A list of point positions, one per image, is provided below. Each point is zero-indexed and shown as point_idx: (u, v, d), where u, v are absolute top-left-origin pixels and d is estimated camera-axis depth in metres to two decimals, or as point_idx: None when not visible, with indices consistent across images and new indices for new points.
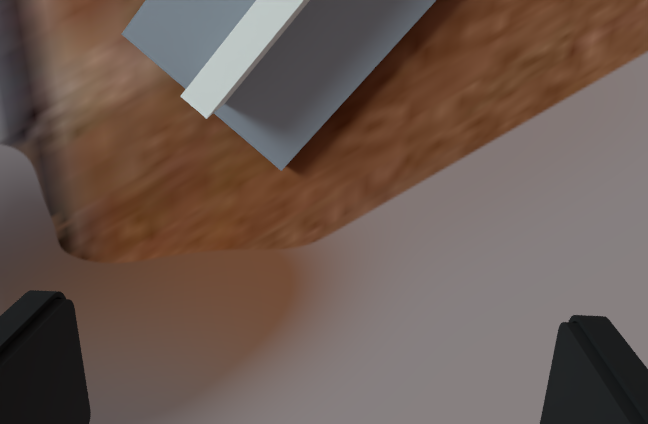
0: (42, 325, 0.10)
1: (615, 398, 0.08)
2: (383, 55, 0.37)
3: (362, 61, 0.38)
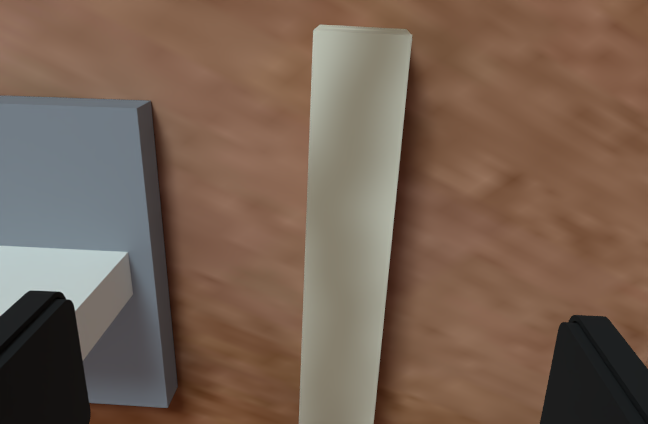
0: (42, 325, 0.10)
1: (615, 398, 0.08)
2: None
3: None
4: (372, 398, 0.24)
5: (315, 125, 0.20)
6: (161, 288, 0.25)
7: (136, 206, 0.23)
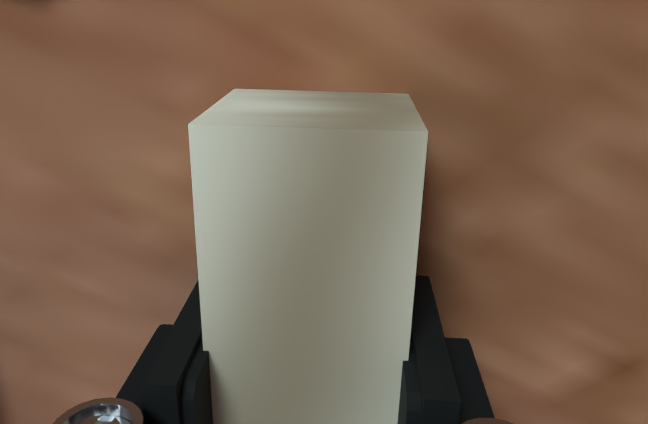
0: None
1: None
2: None
3: None
4: None
5: (214, 327, 0.09)
6: None
7: None
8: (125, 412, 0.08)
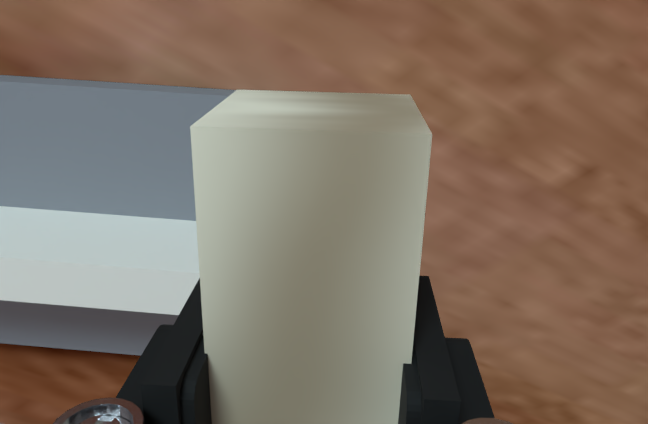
0: None
1: None
2: (129, 352, 0.30)
3: (105, 338, 0.30)
4: None
5: (215, 330, 0.09)
6: None
7: None
8: (125, 412, 0.08)
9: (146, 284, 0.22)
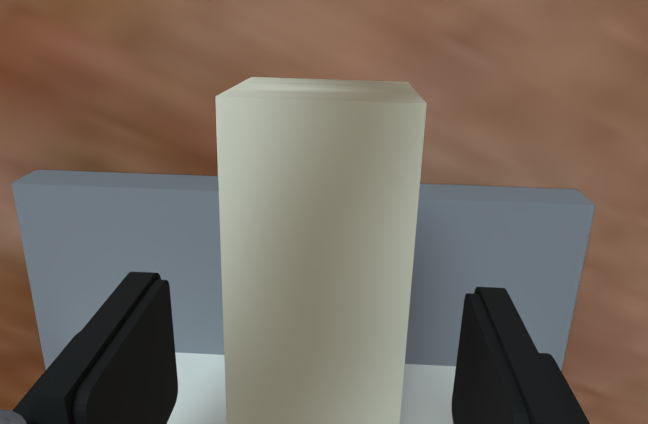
0: (149, 302, 0.10)
1: (492, 355, 0.09)
2: None
3: None
4: None
5: (232, 284, 0.10)
6: None
7: (558, 318, 0.18)
8: None
9: None
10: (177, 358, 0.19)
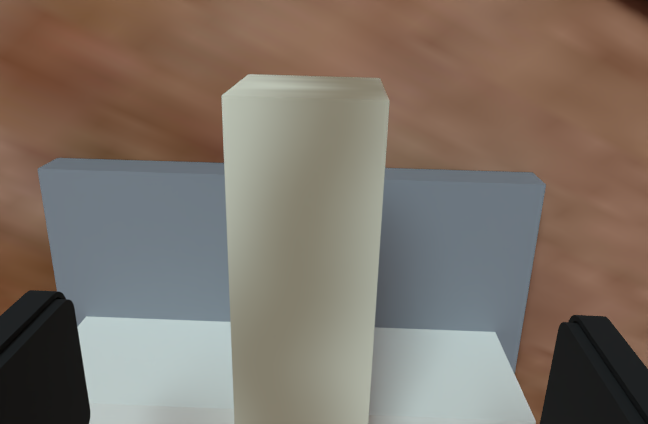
0: (42, 325, 0.10)
1: (615, 398, 0.08)
2: None
3: None
4: None
5: (236, 246, 0.12)
6: None
7: (517, 285, 0.21)
8: None
9: None
10: (183, 324, 0.22)
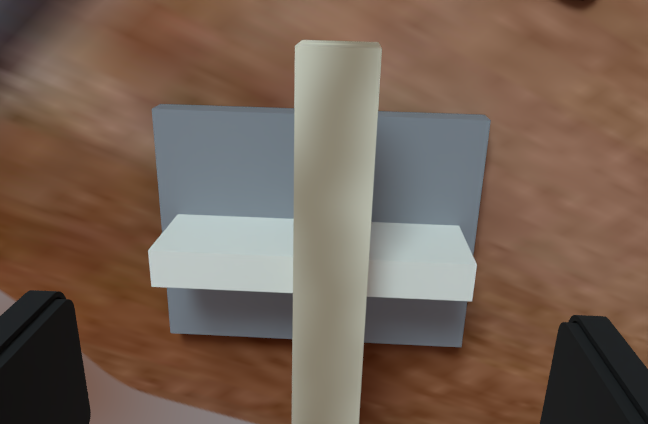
0: (42, 325, 0.10)
1: (615, 398, 0.08)
2: None
3: None
4: (358, 377, 0.26)
5: (299, 130, 0.22)
6: None
7: (473, 191, 0.31)
8: None
9: (410, 275, 0.28)
10: (245, 219, 0.32)
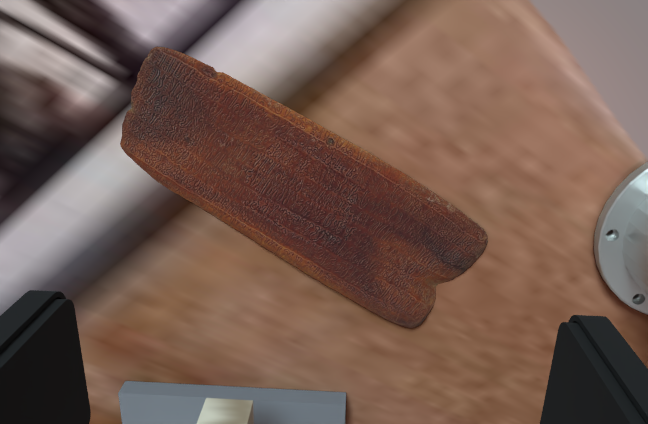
0: (42, 325, 0.10)
1: (615, 398, 0.08)
2: None
3: None
4: None
5: None
6: None
7: None
8: None
9: None
10: None
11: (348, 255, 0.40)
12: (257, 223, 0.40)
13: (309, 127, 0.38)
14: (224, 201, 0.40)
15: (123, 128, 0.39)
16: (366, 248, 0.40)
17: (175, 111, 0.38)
